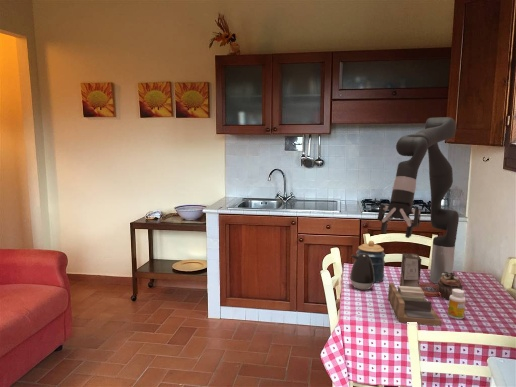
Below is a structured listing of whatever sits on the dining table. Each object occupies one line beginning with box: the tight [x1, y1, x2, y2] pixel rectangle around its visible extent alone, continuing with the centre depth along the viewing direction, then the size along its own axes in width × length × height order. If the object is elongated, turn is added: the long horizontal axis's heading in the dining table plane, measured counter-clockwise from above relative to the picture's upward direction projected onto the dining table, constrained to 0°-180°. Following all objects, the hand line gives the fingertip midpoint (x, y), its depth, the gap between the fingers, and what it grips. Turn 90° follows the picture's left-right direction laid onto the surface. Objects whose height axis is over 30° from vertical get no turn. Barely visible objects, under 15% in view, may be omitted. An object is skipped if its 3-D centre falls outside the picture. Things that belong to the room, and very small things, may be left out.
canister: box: [355, 240, 386, 283], centre depth 193 cm, size 13×13×18 cm
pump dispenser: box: [349, 253, 375, 291], centre depth 180 cm, size 10×10×15 cm
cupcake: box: [436, 272, 464, 301], centre depth 173 cm, size 10×10×10 cm
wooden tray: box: [387, 282, 442, 327], centre depth 156 cm, size 22×14×7 cm, turn 173°
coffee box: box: [399, 252, 422, 287], centre depth 174 cm, size 9×6×16 cm
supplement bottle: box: [447, 289, 467, 320], centre depth 153 cm, size 5×5×10 cm
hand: (395, 235), depth 148 cm, fingers open, 8 cm apart
